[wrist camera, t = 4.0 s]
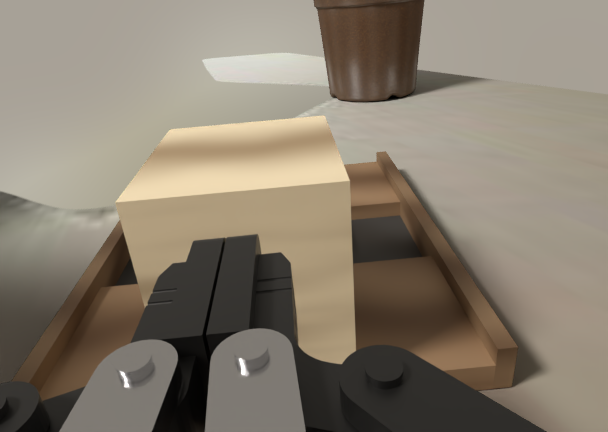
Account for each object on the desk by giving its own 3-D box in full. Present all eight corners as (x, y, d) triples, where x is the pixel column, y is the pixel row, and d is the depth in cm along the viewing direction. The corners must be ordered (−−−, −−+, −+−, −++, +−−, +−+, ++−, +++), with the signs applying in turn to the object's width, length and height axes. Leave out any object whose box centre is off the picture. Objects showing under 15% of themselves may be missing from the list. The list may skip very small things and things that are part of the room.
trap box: (511, 386, 18) (518, 347, 17) (18, 436, 18) (-1, 398, 17) (385, 174, 39) (385, 151, 38) (156, 195, 38) (151, 173, 38)
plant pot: (302, 107, 63) (291, -28, 55) (327, 83, 76) (321, -27, 69) (427, 105, 58) (433, -41, 51) (429, 80, 72) (434, -38, 65)
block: (357, 379, 17) (349, 180, 14) (170, 397, 17) (115, 202, 14) (333, 265, 25) (324, 115, 21) (200, 277, 25) (169, 129, 21)
